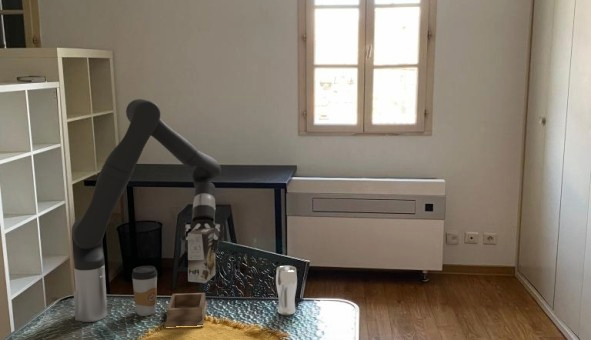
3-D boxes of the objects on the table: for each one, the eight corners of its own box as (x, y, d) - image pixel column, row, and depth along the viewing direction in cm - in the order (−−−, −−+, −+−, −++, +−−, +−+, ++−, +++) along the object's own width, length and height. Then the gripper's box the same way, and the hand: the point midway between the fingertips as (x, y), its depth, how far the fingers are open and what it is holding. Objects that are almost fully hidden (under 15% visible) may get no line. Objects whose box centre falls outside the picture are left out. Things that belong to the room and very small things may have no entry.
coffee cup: (143, 319, 179) (141, 274, 177) (128, 313, 184) (126, 270, 182) (164, 311, 185) (162, 268, 183) (148, 305, 190) (146, 263, 188)
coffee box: (206, 283, 175) (205, 234, 173) (187, 281, 177) (186, 232, 175) (216, 274, 184) (216, 227, 182) (198, 273, 186) (197, 226, 184)
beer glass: (297, 307, 188) (297, 265, 186) (295, 316, 181) (295, 272, 179) (277, 307, 189) (277, 264, 187) (275, 315, 182) (274, 271, 180)
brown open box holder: (164, 328, 172) (163, 313, 171) (172, 304, 191) (172, 290, 191) (203, 327, 173) (202, 312, 172) (207, 303, 192) (207, 289, 192)
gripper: (181, 203, 184) (177, 246, 174) (224, 203, 185) (223, 246, 176) (183, 216, 190) (180, 258, 180) (225, 215, 191) (224, 257, 182)
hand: (201, 252), depth 178 cm, fingers closed on coffee box, 8 cm apart
